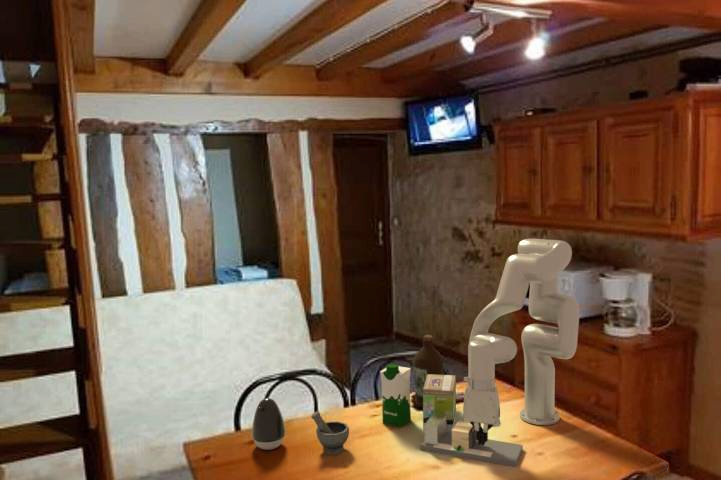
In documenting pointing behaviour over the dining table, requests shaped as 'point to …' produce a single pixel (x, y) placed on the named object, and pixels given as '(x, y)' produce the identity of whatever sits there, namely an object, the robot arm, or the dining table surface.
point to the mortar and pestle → (331, 434)
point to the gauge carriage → (463, 435)
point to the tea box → (440, 398)
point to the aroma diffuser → (268, 425)
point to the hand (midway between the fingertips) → (482, 442)
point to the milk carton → (395, 395)
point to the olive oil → (426, 366)
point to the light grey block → (435, 429)
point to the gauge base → (480, 450)
